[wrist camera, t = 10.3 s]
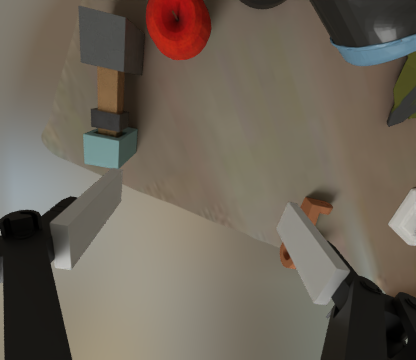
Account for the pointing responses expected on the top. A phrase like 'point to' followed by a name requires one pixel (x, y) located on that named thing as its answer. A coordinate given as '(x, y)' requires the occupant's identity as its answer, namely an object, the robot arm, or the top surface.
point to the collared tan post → (110, 104)
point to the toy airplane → (404, 93)
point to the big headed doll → (406, 219)
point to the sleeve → (110, 41)
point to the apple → (178, 27)
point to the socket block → (109, 148)
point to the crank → (312, 211)
